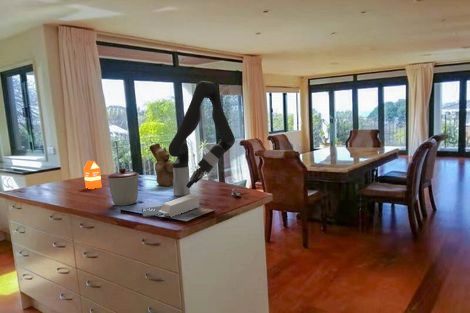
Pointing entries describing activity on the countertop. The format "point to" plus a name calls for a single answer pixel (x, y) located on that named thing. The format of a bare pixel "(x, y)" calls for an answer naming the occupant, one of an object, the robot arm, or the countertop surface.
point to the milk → (180, 205)
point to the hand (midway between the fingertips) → (187, 187)
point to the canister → (123, 187)
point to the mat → (152, 213)
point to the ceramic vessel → (162, 165)
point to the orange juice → (92, 175)
